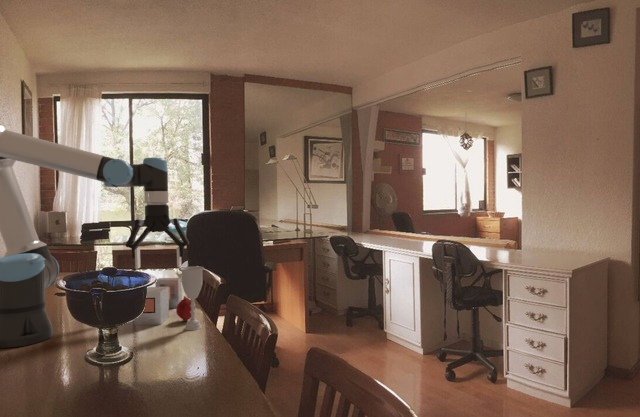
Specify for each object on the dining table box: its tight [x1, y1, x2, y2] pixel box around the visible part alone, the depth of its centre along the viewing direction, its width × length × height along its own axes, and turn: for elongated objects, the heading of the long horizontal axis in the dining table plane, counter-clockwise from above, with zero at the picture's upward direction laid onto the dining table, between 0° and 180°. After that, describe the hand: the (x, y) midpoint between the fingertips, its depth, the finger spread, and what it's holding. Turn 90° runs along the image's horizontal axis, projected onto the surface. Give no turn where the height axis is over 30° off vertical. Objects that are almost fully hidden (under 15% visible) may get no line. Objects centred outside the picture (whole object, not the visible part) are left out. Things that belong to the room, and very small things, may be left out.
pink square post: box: [143, 287, 170, 312], centre depth 144 cm, size 18×4×4 cm, turn 4°
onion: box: [175, 295, 196, 322], centre depth 138 cm, size 6×6×8 cm
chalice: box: [179, 265, 205, 331], centre depth 131 cm, size 7×7×18 cm
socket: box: [155, 277, 183, 309], centre depth 158 cm, size 4×8×10 cm, turn 94°
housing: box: [133, 286, 170, 326], centre depth 139 cm, size 9×8×10 cm
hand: (158, 267), depth 146 cm, fingers open, 13 cm apart
